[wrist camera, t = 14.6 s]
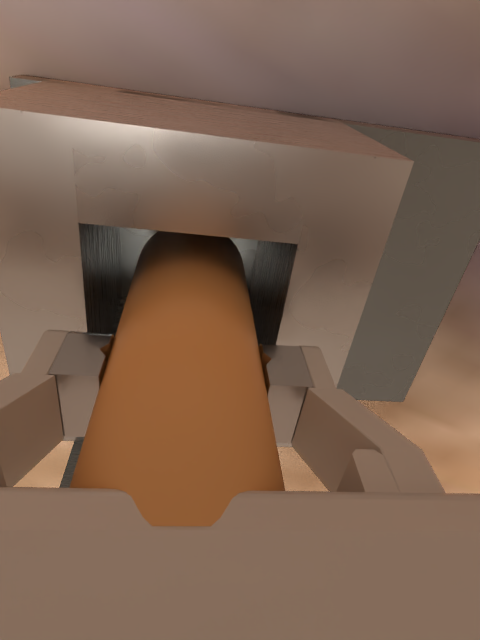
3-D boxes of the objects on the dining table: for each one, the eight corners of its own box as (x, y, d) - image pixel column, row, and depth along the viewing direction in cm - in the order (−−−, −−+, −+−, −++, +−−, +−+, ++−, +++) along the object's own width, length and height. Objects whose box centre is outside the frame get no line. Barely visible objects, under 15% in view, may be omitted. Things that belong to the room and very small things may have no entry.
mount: (502, 142, 16) (782, 230, 9) (394, 386, 23) (492, 559, 16) (22, 74, 14) (-210, 109, 6) (61, 370, 21) (-25, 565, 13)
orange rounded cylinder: (236, 320, 15) (276, 644, 7) (137, 313, 15) (55, 652, 7) (251, 228, 13) (329, 524, 5) (137, 216, 13) (19, 523, 5)
